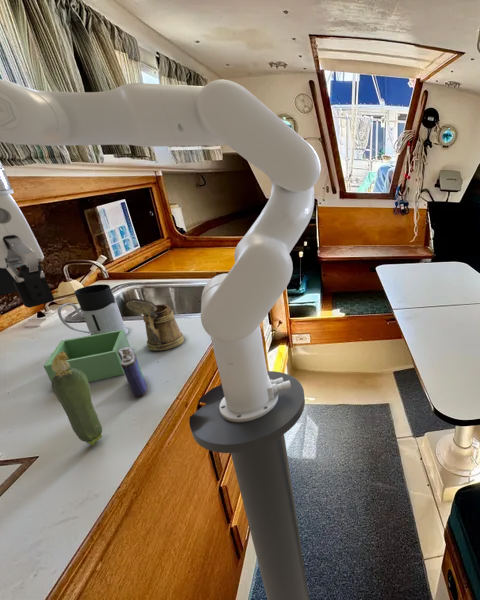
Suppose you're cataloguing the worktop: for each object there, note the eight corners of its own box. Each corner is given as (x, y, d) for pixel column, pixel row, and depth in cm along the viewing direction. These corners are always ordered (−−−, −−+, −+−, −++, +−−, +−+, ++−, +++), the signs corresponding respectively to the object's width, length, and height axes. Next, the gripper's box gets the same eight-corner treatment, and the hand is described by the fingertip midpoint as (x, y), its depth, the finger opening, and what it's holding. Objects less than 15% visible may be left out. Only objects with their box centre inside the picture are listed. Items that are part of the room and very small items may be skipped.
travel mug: (135, 329, 100) (120, 284, 94) (89, 354, 88) (68, 304, 81) (111, 326, 101) (94, 282, 95) (61, 351, 89) (38, 301, 82)
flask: (128, 380, 78) (114, 342, 74) (143, 375, 80) (130, 338, 76) (134, 400, 72) (118, 360, 68) (150, 394, 74) (136, 355, 70)
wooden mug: (133, 362, 85) (111, 300, 77) (155, 337, 97) (138, 281, 89) (171, 358, 87) (153, 297, 80) (189, 334, 99) (174, 279, 92)
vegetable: (75, 445, 61) (29, 355, 53) (101, 428, 64) (61, 342, 56) (91, 451, 59) (47, 360, 51) (117, 434, 63) (79, 347, 55)
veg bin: (131, 349, 90) (124, 329, 87) (124, 374, 80) (115, 351, 78) (71, 362, 84) (61, 340, 81) (55, 390, 74) (43, 366, 72)
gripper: (39, 185, 44) (85, 299, 51) (-22, 179, 50) (27, 282, 57) (-46, 189, 38) (19, 319, 44) (-105, 181, 43) (-39, 297, 50)
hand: (23, 298), depth 51 cm, fingers open, 9 cm apart
